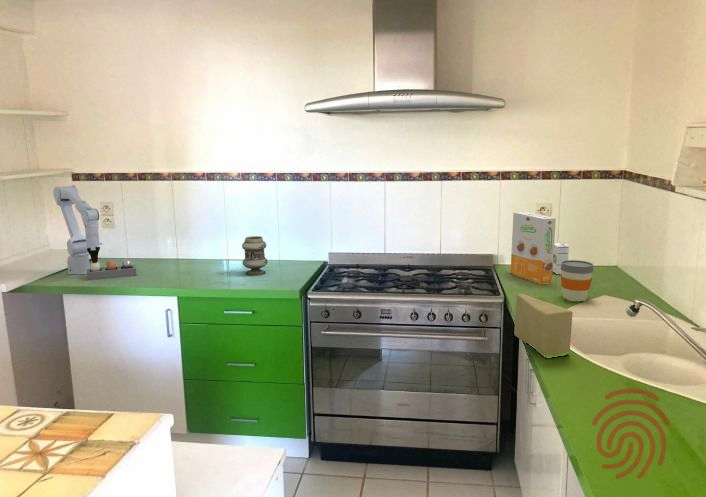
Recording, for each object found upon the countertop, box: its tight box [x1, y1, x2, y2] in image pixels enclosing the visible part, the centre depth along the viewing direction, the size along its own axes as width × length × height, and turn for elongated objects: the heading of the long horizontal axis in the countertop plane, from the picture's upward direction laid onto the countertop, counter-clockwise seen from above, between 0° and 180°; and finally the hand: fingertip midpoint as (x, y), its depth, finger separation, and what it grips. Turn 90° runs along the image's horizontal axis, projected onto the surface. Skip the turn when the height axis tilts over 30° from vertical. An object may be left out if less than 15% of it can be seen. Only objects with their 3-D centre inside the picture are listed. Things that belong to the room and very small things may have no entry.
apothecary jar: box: [241, 235, 268, 277], centre depth 283 cm, size 12×12×18 cm
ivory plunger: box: [89, 261, 101, 272], centre depth 278 cm, size 4×4×4 cm
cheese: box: [513, 293, 573, 356], centre depth 186 cm, size 22×10×15 cm, turn 19°
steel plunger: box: [121, 259, 132, 269], centre depth 283 cm, size 4×4×4 cm
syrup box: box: [552, 242, 570, 275], centre depth 278 cm, size 6×6×14 cm
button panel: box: [85, 264, 137, 281], centre depth 281 cm, size 9×22×4 cm, turn 113°
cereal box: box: [510, 211, 556, 285], centre depth 268 cm, size 22×6×30 cm, turn 20°
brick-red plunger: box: [105, 260, 116, 270], centre depth 281 cm, size 4×4×4 cm
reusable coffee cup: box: [560, 259, 594, 300], centre depth 237 cm, size 13×13×15 cm
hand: (94, 262), depth 277 cm, fingers closed
